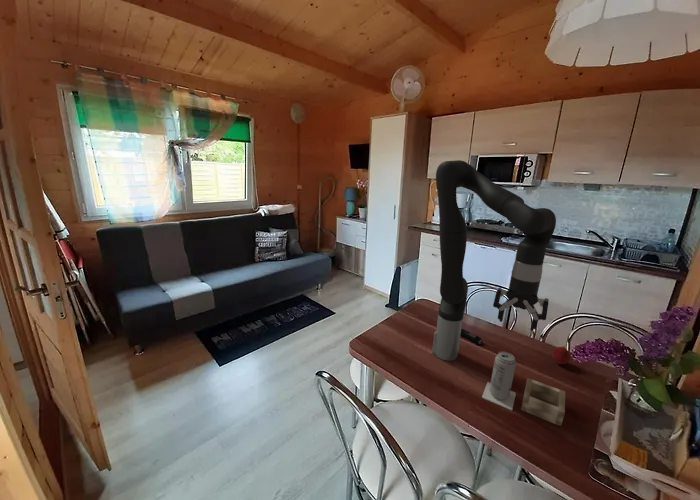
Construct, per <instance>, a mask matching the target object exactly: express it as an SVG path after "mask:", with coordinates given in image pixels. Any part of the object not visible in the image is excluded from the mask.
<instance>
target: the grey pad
mask: <svg viewBox="0 0 700 500" xmlns="http://www.w3.org/2000/svg"><path fill="white" fill-rule="evenodd" d="M490 383H491V381H490V382H489V381H487V382H486V385H485V388H484V390H483V393H482V396H481V399H483V400H484V401H485V400H486V401H488V402H490V403H493V404H495V405H498V407H499V406H500V407H502V408H504V409H506V410H509V411H513V408H514V405H515V399H516V396H517V392H515V391H512V390H510V395H509V397H508V398H507V399H506V400H499V399H496V398H495V397H493V396H492V394H491V392H490V390H489V389H490Z"/></svg>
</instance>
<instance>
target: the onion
mask: <svg viewBox="0 0 700 500" xmlns="http://www.w3.org/2000/svg"><path fill="white" fill-rule="evenodd" d="M551 356H552V357H551V358H552V359H553V360H554V361H555V362H556V363H557V364H559V365H565V364H567V363H568V362H570V360H571V354H570V351H569V350H568V349H567V348H566V346H565V345H564V344H563V345H561V346H558V347H556V348H554V349H553V350H552V351H551Z"/></svg>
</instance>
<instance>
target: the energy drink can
mask: <svg viewBox="0 0 700 500" xmlns="http://www.w3.org/2000/svg"><path fill="white" fill-rule="evenodd" d="M516 366H517V362H516V359H515V356H514V355H513V354H512V353H510V352H507V351H499V352H498V353H497V354H496V355H495V357H494V363H493V368H492V372H491V379H490V389H489V390H490V392H491V394H492V396H493V397H495V398H496V399H499V400H506V399H507V398H508V397H509V395H510V391H512V385H513V382H514V381H513V380H514V375H515V370H516Z"/></svg>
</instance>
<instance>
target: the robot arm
mask: <svg viewBox="0 0 700 500" xmlns="http://www.w3.org/2000/svg"><path fill="white" fill-rule="evenodd" d="M435 183H436V184H435V185H436V191H437V192H436V193H437V202H438V214H439V249H440V251H439V252H440V261H441V262H440V263H441V274H440V275H441V276H440V286H439V294H440V297H441V299H440V304H439V307H438V313H437V323H436V329H435V331H434V334H433V339H432V340H433V342H432V349H431V354H433V355H435V356H436V358H437V359H441V360H443V361H448V362H449V361H455V360H457V358H458V355H459V347H460V341H461V336H460V335H461V329H463V328H462V327H463V320H464V314H465V311H466V304H467V298H468V291H469V285H468V282H467V281H468V280H466V278H465V277H464V275H463V274H464V271H463V270H464V269H463V268H464V261H465V257H466V249H467V242H468V241H467V240H468V239H467V236H468V234H467V232H468V231H467V228H468V227H467V223H466V220H465V217H464V216H463V214H462V211H461V210H460V208H459V205H458V199H457V188H463V189H467V190H468V191H469V190H470V191H472V192H473V193H474V194H476V195H477V196H478V198H480V200H481V201H482V202H483V204H485V206H486V207H488V209H491V210H492V211H494V212H496V213H497V214H499V216H500V215H501V216H502V217H504V218H505V219H506V220H507V221H508V222H509V223H510V224H512V225H513V226H514V227H515V228H516V229H517V230H519V231H521V232H522V233H524V234H525V236H524V238H523V239H522V240H521V241H520V242H519V244H518V245H517V249H516V255H515V259H514V263H513V265H512V270H511V275H510V279H509V280H510V281H509V287H508V290H505V289H503V288H502V287H498V288H497V289H496V292H495V297H494V300H493V304H492V307H493V308H496V309H498V314H497V319H498V320H499V322H500V323H502V322H503V319H504V315H505V310H506V309H508V308H509V307H510V306H513V308H516V309H518V308H519V309H521V310H523V311H525V310H527V311H528V313H529V314H530V315H531V317H532V321H531V325H530V329H529V330H530V331H534V330H536V329H537V327H538V323H539V321H541V320H542V321H546V320H547V317H548V314H547V313H548V310H549V309H548V308H549V302H550V300H549V299H548V298H547V297H546V298H539V297H538V292H539V288H540V285H541V279H542V274H543V266H544V261H545V255H546V249H547V247H548V246H549V243H550V241H551V239H552V238H553V237H552V236H553V234H554V232H555V228H556V224H557V217H556V214H555V213H554V211H553V210H551V209H550V208H546V207H539V208H533V207H531V206H529V205H528V204H526V203H525V200H524V199H523V198H522V197H521V196H519V195H518V194H516V193H513V192H512V191H510V190H508V189H506V188H504V187H502V186H500V185H499V184H497V183H495V182H494V181H492V180H490V179H489V178H488V177H486V175H483V174H482V173H480V172H479V171H478V170H477V169H476V168H475V167H473V166H472V165H471V164H470V163H468V162H467V161H465V160H460V159H459V160H458V159H457V160H446V161H443V162H441V163H440V164H439V165H438V166H437V168H436V171H435ZM504 295H505V296H506V298H507V300H506V301H504V302H503V303H500V300H501V297H504ZM537 303H538V304H539V306H540V307H541V308H542V309H541V313H538V311H537V309H536V306H535V305H536V304H537Z"/></svg>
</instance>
